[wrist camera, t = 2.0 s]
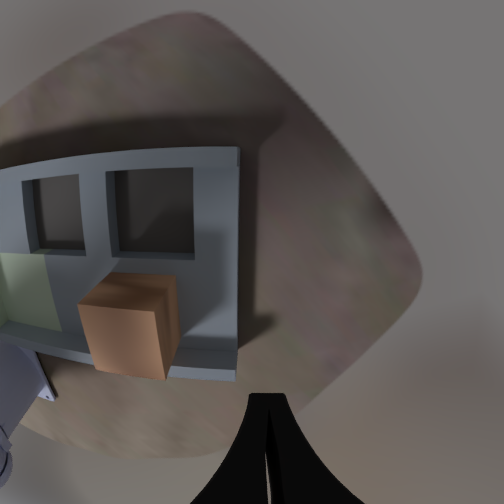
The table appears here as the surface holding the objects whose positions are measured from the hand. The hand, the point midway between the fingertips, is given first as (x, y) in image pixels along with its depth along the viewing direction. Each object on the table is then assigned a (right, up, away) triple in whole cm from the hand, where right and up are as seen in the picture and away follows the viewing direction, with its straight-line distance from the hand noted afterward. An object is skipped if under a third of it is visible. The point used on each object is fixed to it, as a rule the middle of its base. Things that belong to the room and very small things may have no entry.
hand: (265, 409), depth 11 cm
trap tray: (-12, +6, +8) cm, 16 cm away
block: (-8, +3, +8) cm, 11 cm away
